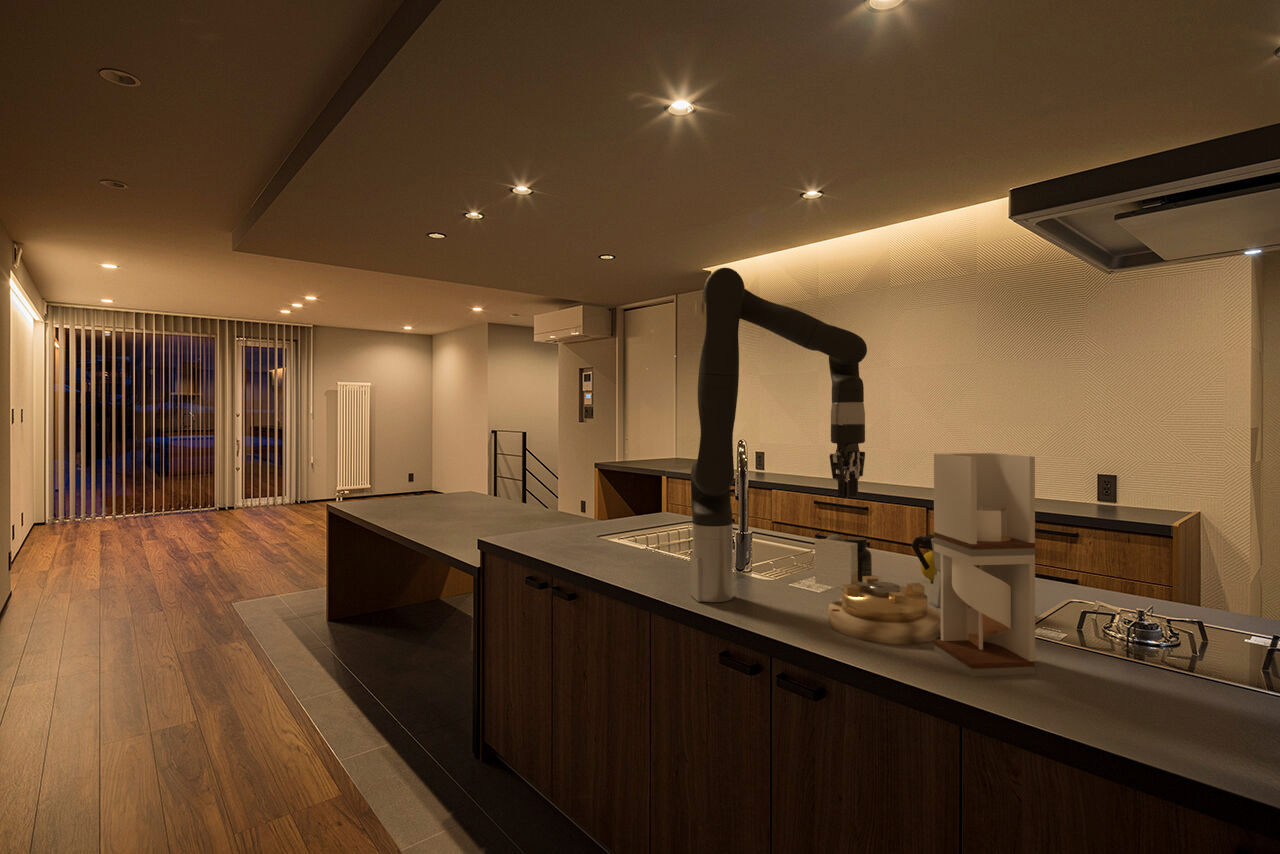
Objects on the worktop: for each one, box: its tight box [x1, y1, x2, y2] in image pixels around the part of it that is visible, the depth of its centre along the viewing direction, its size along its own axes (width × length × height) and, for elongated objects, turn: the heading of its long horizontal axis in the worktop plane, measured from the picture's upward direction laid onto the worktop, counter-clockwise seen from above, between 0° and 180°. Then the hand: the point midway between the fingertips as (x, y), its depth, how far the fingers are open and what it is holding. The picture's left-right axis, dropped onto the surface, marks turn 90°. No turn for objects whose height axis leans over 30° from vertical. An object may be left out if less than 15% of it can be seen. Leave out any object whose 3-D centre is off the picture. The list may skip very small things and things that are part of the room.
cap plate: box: [828, 598, 941, 645], centre depth 130 cm, size 21×21×3 cm
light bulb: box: [825, 534, 846, 542], centre depth 176 cm, size 6×6×10 cm
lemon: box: [920, 550, 937, 583], centre depth 164 cm, size 6×6×8 cm
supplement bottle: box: [845, 536, 873, 582], centre depth 160 cm, size 7×7×12 cm
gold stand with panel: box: [814, 538, 928, 622], centre depth 132 cm, size 22×16×12 cm
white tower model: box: [933, 452, 1036, 677], centre depth 110 cm, size 11×11×35 cm
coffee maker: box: [911, 534, 941, 609], centre depth 144 cm, size 15×9×18 cm, turn 47°
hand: (848, 496), depth 150 cm, fingers open, 4 cm apart
